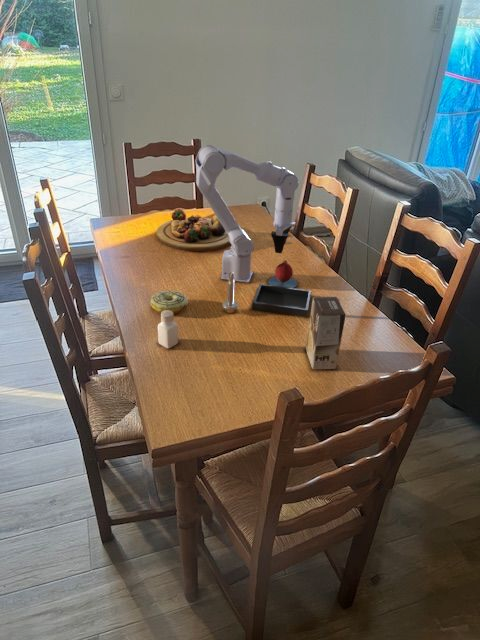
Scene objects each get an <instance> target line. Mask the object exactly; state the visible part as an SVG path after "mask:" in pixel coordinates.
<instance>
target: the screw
mask: <svg viewBox="0 0 480 640" xmlns="http://www.w3.org/2000/svg"><path fill="white" fill-rule="evenodd" d="M233 278H234V273H233V272H230V273H229V280H227V294H226V295H227V297H226V298H227V300H225V301H223V302H222V304H221V306H222V308H223V309H224V310H225V312H226V313H228V314H232V313H233V314H234V312H235V310H237V309H238V308H239V303H238V302H237V301H235V300H234V299H235V298H234V297H235V281H234V279H233Z"/></svg>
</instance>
